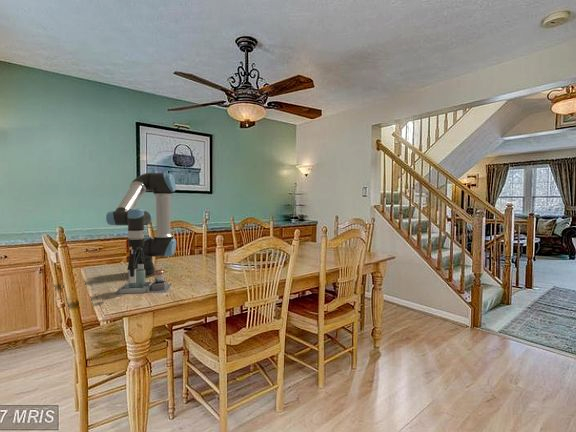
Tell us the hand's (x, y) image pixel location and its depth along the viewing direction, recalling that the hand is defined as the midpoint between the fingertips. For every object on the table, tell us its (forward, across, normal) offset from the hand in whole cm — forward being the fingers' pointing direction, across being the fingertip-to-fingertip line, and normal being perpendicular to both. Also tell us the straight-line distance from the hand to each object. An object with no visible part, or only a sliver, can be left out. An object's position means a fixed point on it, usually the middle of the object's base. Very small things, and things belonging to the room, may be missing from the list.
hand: (136, 279), depth 165 cm
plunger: (+2, 0, -11) cm, 11 cm away
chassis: (+7, 0, -4) cm, 8 cm away
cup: (+5, 0, 0) cm, 5 cm away
